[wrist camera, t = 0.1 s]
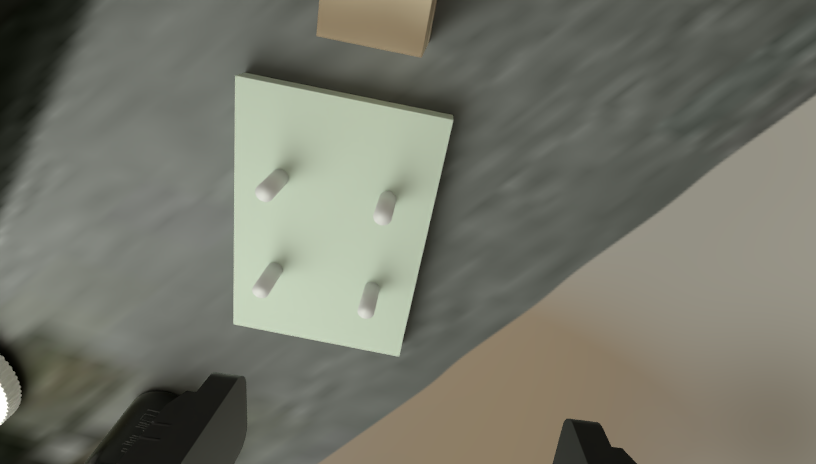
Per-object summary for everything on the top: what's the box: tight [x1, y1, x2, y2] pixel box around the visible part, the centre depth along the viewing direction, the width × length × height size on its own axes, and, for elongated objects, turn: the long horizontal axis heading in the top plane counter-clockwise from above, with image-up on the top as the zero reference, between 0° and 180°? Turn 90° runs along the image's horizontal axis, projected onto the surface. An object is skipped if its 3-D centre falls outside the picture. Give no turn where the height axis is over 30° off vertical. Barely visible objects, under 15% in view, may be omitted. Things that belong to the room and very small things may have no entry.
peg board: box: [233, 73, 453, 356], centre depth 32 cm, size 20×14×4 cm
